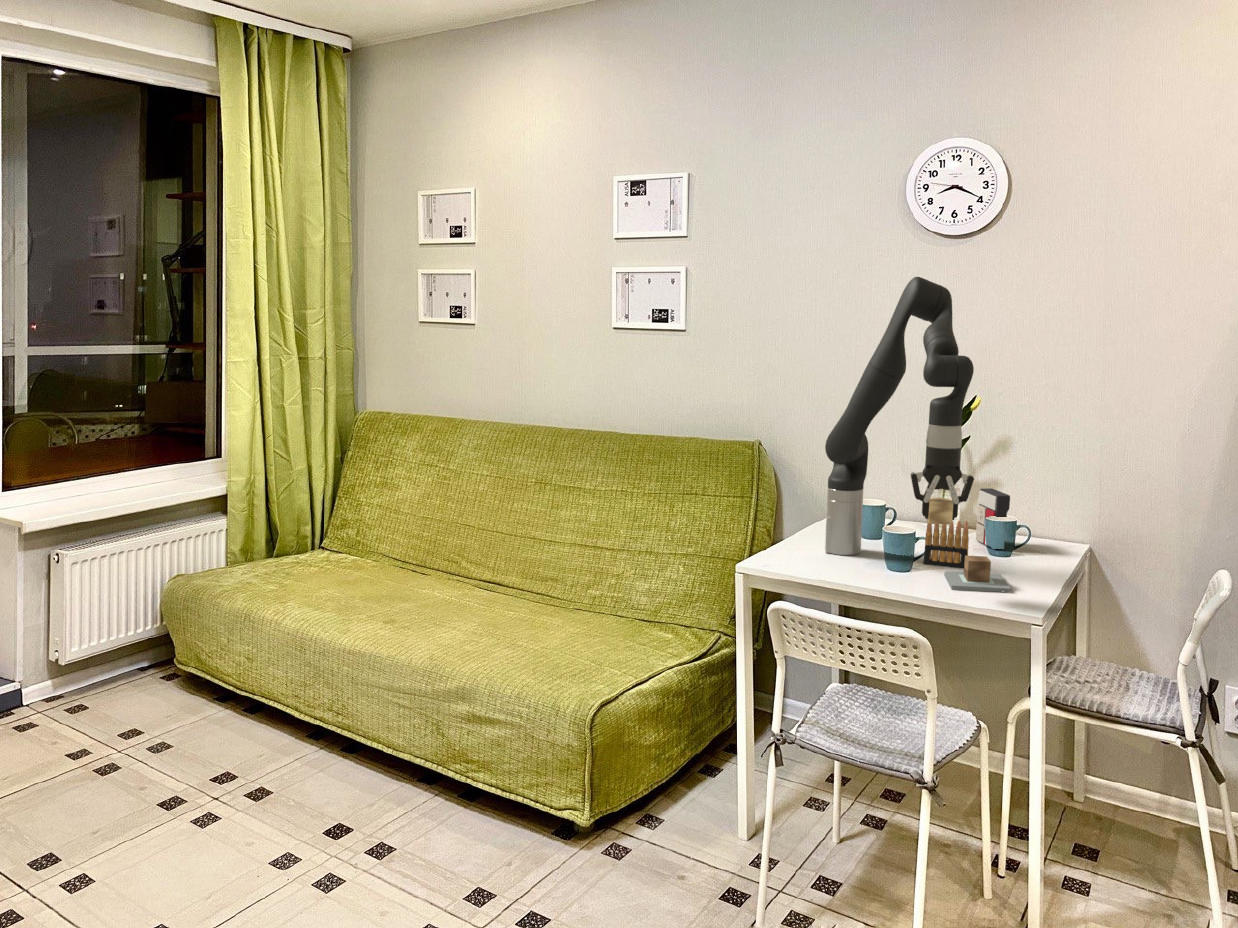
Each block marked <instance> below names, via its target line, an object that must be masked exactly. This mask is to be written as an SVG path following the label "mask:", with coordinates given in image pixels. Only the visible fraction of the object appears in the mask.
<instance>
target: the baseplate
mask: <svg viewBox="0 0 1238 928" xmlns="http://www.w3.org/2000/svg"><path fill="white" fill-rule="evenodd" d="M943 572H944V574H943V575H944V577H945V579H946V581H947V583H948V585H949V588H950V589H951V590H952V591H970V592H971V591H972V592H987V591H989V592H988V593H990V592H991V593H996V592H995V591H1000V592H999V593H1002V592H1001V591H1004V592H1003V593H1006V592H1011V593H1012V588H1011V586H1010V585H1009V584H1008V583H1007V581H1006V579H1005V578H1004V577H1003V575H1002V574H1001V573H994V572H993V573H992V572H990V583H989V582H968V581H967V580H966V579H965V577H964V571H950V570H945V571H943ZM993 591H994V592H993Z"/></svg>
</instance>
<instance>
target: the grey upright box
mask: <svg viewBox="0 0 1238 928" xmlns="http://www.w3.org/2000/svg"><path fill="white" fill-rule="evenodd" d="M978 492H979V493H978V505H977V513H976V522H977V523H976V531H975V540H976V541H977V542H978V541H979V542H978V543H980V544H981V545H984V546H986V545H985V529H984V519H985V518H986V517H989V516H996V517H1008V515H1007V514H1008V512H1009V510H1010V507H1011V506H1010V504H1011V495H1010V494H1007V493H1004V492H1003V491H1000V490H997V489H994V488H980V489H979V490H978Z"/></svg>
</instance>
